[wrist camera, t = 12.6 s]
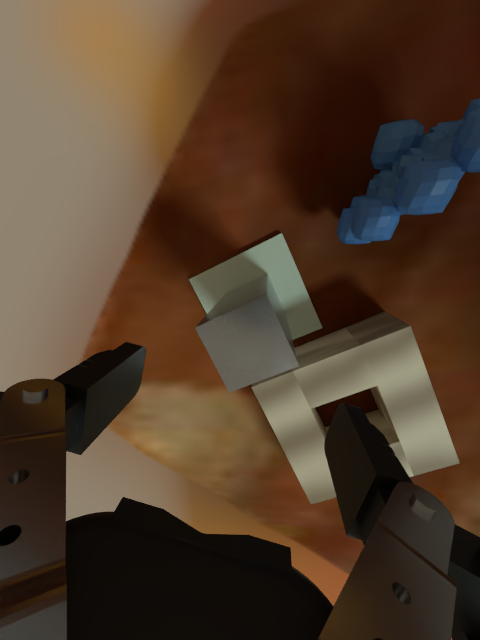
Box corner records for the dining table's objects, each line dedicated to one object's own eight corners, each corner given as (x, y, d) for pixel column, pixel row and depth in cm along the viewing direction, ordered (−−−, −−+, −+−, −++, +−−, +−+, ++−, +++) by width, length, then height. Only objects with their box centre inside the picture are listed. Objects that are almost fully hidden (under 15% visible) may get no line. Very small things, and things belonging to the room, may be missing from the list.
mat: (321, 326, 28) (322, 327, 27) (233, 363, 30) (232, 364, 29) (281, 233, 26) (281, 233, 25) (189, 278, 28) (188, 279, 27)
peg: (286, 314, 27) (299, 366, 16) (245, 332, 28) (229, 392, 17) (267, 273, 26) (267, 295, 15) (226, 292, 27) (194, 327, 16)
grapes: (414, 97, 22) (577, -67, 10) (461, 165, 23) (659, 84, 11) (299, 203, 25) (327, 167, 13) (345, 260, 26) (408, 273, 14)
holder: (428, 427, 29) (459, 463, 24) (304, 465, 32) (311, 504, 27) (384, 311, 27) (410, 326, 22) (253, 364, 29) (251, 387, 25)
